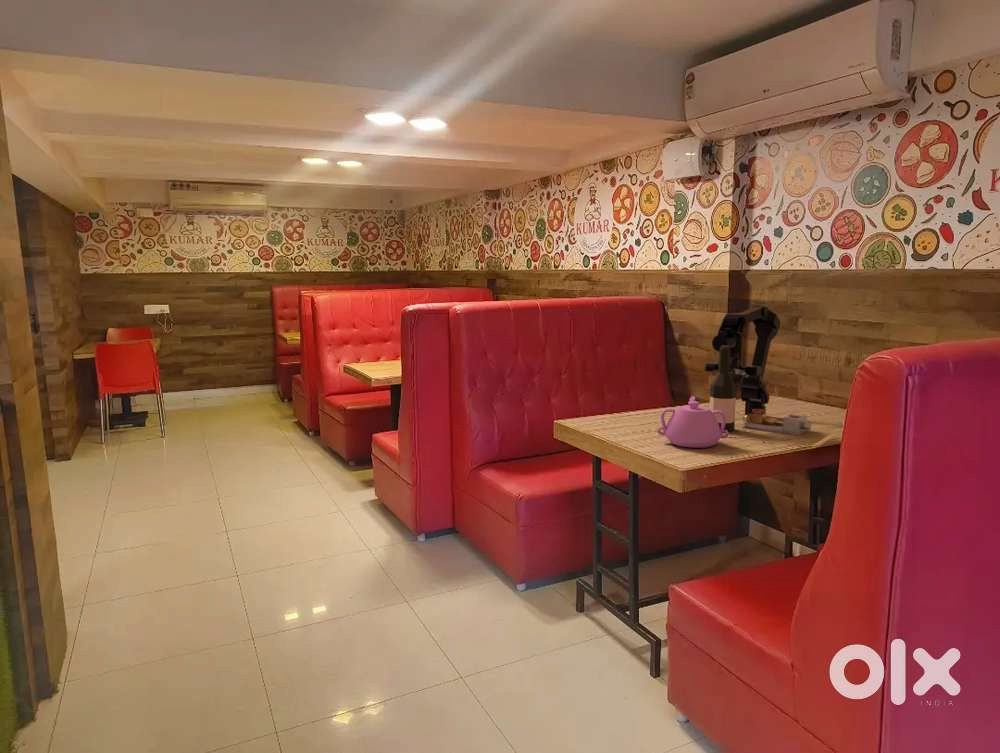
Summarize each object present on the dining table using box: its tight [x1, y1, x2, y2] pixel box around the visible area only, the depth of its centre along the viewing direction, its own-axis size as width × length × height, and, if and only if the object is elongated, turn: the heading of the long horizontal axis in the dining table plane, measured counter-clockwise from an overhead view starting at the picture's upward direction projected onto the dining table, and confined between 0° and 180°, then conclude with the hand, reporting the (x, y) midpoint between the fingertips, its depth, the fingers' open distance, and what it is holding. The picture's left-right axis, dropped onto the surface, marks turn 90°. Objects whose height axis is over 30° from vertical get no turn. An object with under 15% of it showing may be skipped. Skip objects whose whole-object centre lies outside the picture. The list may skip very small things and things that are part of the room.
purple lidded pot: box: [657, 395, 730, 449], centre depth 218 cm, size 22×22×14 cm
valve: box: [742, 409, 778, 426], centre depth 235 cm, size 11×5×6 cm, turn 49°
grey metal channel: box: [740, 413, 812, 437], centre depth 232 cm, size 21×12×6 cm, turn 50°
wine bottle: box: [709, 346, 737, 433], centre depth 229 cm, size 8×8×30 cm
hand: (732, 392), depth 241 cm, fingers closed
